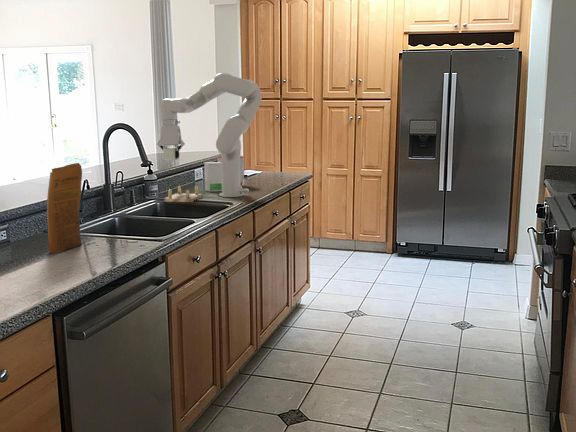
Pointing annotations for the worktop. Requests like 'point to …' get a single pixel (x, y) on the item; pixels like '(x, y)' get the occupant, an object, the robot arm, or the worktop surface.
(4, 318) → the worktop surface
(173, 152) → the block
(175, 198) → the mount plate
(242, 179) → the citrus juicer
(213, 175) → the skincare box
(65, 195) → the pancake mix bag
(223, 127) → the robot arm
